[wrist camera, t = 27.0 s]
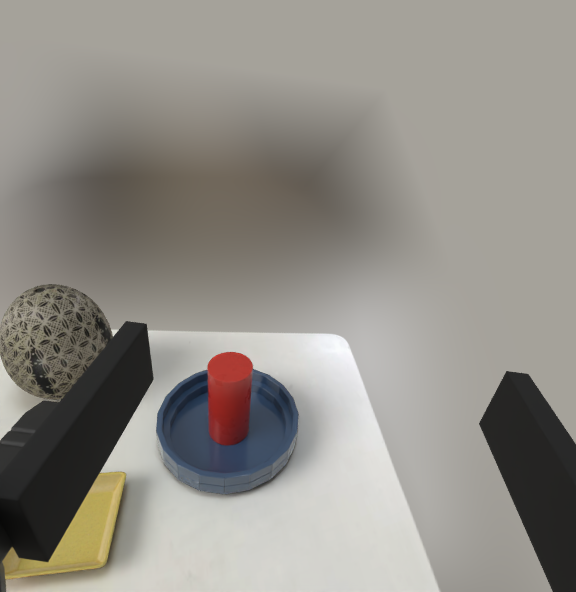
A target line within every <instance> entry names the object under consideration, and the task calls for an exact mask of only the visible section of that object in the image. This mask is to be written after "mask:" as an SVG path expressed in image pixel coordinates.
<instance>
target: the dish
mask: <svg viewBox="0 0 576 592" xmlns="http://www.w3.org/2000/svg"><path fill="white" fill-rule="evenodd" d="M298 415H299V414H298V411H297V408H296V405H295V402H294V399H293V397H292V396H291V395H290V393H289V392H288V391H287V389H286V388H285V387H284V386H283V385H282V384H281V383H280V382H278V381H277V380H275V379H274V378H272V377H271V376H270V375H268V374H265V373H262V372H260V371H257V370H254V369H253V371H252V387H251V403H250V419H249V431H248V434H247V436H246V437H245V438H244V439H243V440H242V441H241V442H239V443H237V444H234V445H221V444H218V443H216V442H215V441H214V440H213V439H212V438H211V437H210V434H209V419H208V370H205V371H202V372H199V373H196V374H194V375H192V376H190V377H189V378H187V379H185V380H183V381H182V382H180V383H179V384H178V385H177V386H176V387H175V388H174V389H173V390H172V391H171V392H170V393H169V394H168V395H167V396H166V397H165V399H164V401H163V403H162V405H161V407H160V409H159V411H158V414H157V427H156V433H157V441H158V448H159V450H160V453H161V456H162V459H163V462H164V464H165V466H166V467H167V468H168V469H169V470H170V471H171V472H172V473H173V474H174V476H175V477H176V478H177V479H178V480H179V481H181V482H183V483H185V484H187V485H189V486H191V487H193V488H195V489H197V490H199V491H204V492H212V493H219V494H229V493H235V492H241V491H247V490H250V489H252V488H254V487H256V486H258V485H260V484H262V483H264V482H266V481H268V480H270V479H272V478H273V477H274V476H275V475H276V474H277V473H278V472H279V471H280V470H281V469H282V468H283V467H284V466H285V465H286V463H287V462H288V460H289V457H290V455H291V453H292V451H293V449H294V447H295V442H296V436H297V429H298Z"/></svg>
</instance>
